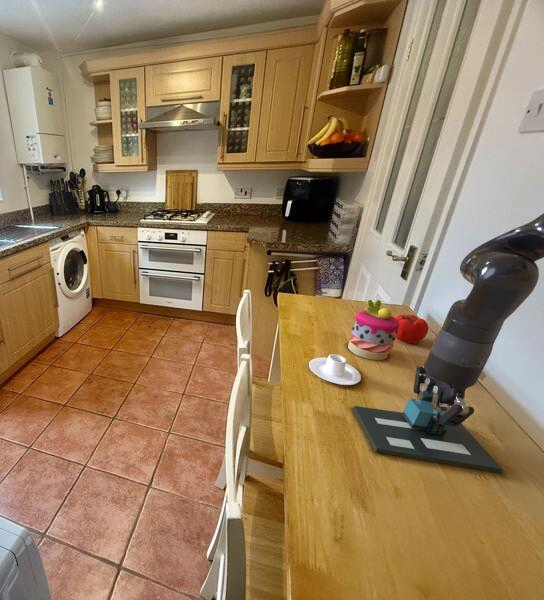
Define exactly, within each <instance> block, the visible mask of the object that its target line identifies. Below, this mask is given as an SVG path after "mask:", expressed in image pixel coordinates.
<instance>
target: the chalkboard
mask: <svg viewBox="0 0 544 600" xmlns="http://www.w3.org/2000/svg"><path fill="white" fill-rule="evenodd" d="M352 410H353V412H354V415H355V416H356V418H357V420H358V422H359V424H360V426H361V428H362V429H363V432H364V433H365V435H366V437H367V439H368V441H369V443H370V445H371V448H373V450H374V453H377V454H384V455H390V456H395V457H396V456H397V457H402V458H409V459H414V460H420V461H426V462H431V463H437V464H443V465H449V466H456V467H462V468H467V469H473V470H480V471H487V472H492V473H498V474H501V473H502V472H503V470H504V469H503V468H502V467H501V465H500V464H499V463H498V462H497V461H496V460H495V459H494V458H493V457H492V455H491V454H490V453H489V452H488V451H487V449H485V447H484V446H483V445H482V444H481V443H480V442H479V441H478V440H477V439H476V438H475V436H473V434H472V433H470V431H469V430H468V429H467V428H466V426H464V424H462V423H461V424H460V425H459V426H457V427H455V426H450V427H449V429H448V430H447V432H446V434H440V435H432V434H428V433H427V432H426V431H424V430H419V429H413V428H411V427H410V425H409V424H408V423H407V421H406V420H405V418H404V417H403V415H402V413H403V412H400V411H394V410H393V411H392V410H386V409H380V408H374V407H373V408H372V407H365V406H357V405H353V407H352Z"/></svg>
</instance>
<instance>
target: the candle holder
mask: <svg viewBox="0 0 544 600" xmlns="http://www.w3.org/2000/svg"><path fill="white" fill-rule="evenodd" d="M347 361H348V360H347V359H346V358H345V357H344V356H342V355H340V354H336V353H335V354H329V355H328V356H327V357H315V358H313V359H311V360H310V361H309V363H308V366H309V369H310V370H311V372H312V373H313V374H315V376H318V377H319V378H320V379H322V380H325V381H327V382H330V383H333V384H337V385H341V386H353V385H356V384H359V383H360V382H361V380H362V376H361V373H360V372H359V370H357V369H356V368H355V367H354V366H352V365H351V364H349V363H347Z"/></svg>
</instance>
